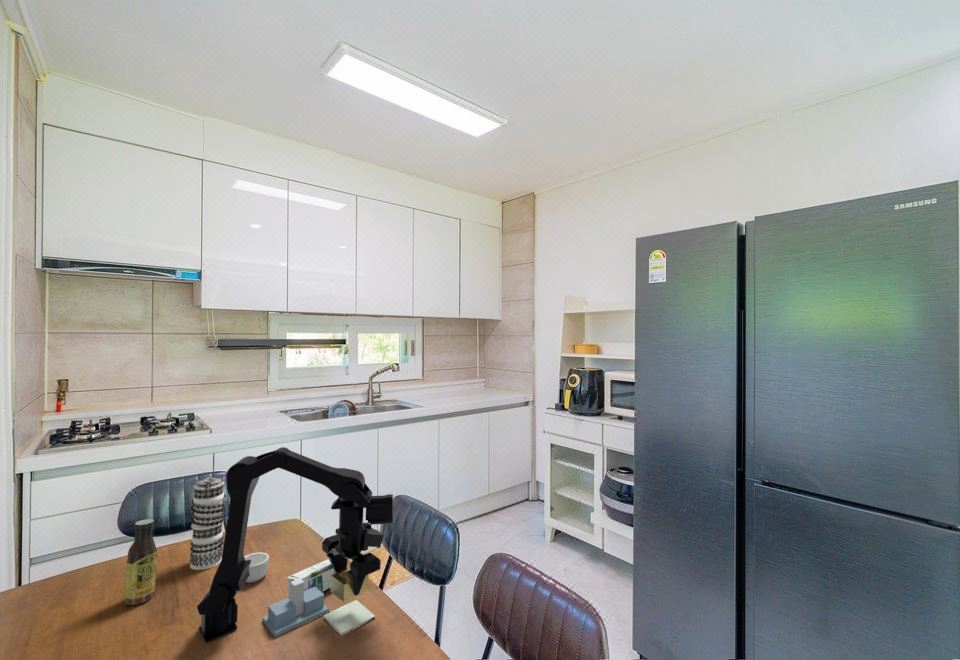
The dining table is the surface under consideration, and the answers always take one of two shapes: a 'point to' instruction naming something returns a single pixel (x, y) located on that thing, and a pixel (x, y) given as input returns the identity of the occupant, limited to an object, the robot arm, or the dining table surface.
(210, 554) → the white patterned cylinder
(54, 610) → the dining table surface
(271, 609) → the blue stepped base
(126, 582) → the sauce bottle
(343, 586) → the brass collar
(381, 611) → the dining table surface
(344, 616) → the off-white board
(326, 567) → the syrup box
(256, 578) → the teacup
